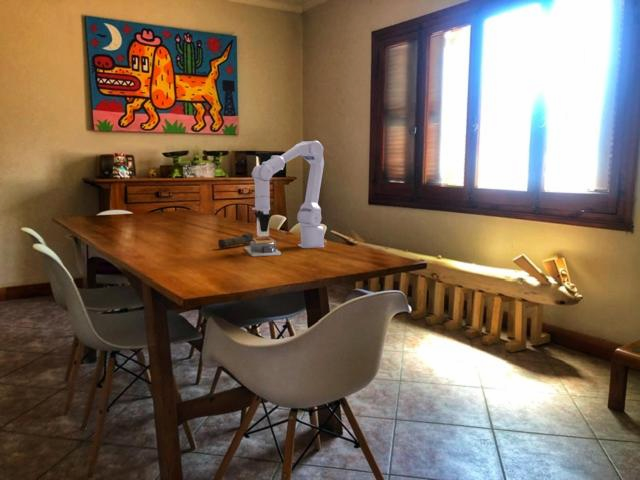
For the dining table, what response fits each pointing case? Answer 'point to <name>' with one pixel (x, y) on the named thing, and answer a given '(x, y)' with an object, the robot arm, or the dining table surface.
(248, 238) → the hand tool
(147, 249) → the dining table surface
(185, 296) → the dining table surface
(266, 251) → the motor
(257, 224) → the block
